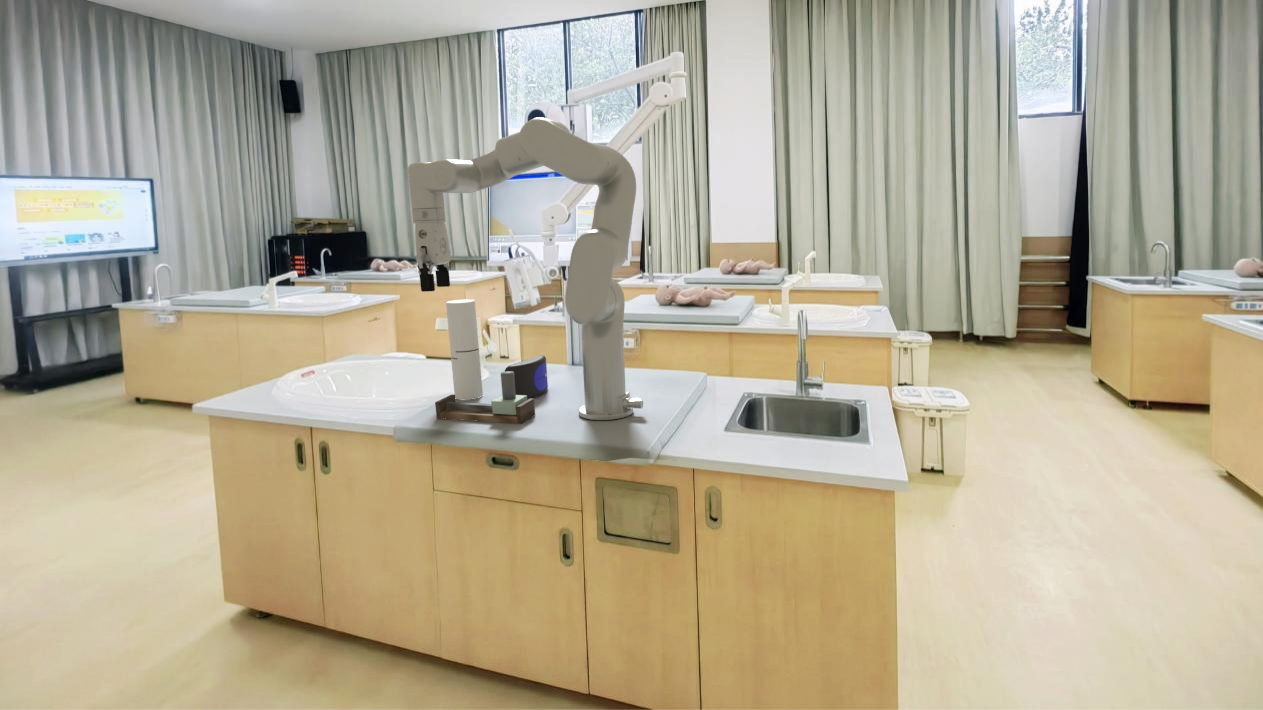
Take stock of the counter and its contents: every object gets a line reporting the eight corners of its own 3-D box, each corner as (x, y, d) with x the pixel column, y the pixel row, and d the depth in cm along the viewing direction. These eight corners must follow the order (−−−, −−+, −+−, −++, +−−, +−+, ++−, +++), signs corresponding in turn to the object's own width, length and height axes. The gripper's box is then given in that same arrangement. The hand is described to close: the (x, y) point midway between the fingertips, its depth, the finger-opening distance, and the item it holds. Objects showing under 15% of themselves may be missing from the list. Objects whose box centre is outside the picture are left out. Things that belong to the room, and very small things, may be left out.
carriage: (527, 407, 169) (525, 370, 168) (515, 415, 164) (513, 376, 162) (504, 406, 171) (501, 369, 169) (492, 413, 166) (489, 375, 164)
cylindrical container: (476, 400, 185) (467, 303, 180) (450, 400, 186) (441, 303, 181) (487, 393, 192) (479, 299, 187) (461, 393, 193) (453, 299, 188)
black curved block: (520, 405, 180) (517, 367, 178) (505, 403, 182) (502, 366, 180) (557, 389, 193) (555, 354, 192) (543, 388, 196) (540, 353, 194)
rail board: (535, 415, 170) (533, 398, 169) (521, 423, 163) (520, 406, 162) (452, 410, 177) (451, 394, 176) (436, 418, 170) (435, 402, 169)
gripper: (430, 216, 163) (437, 292, 166) (457, 215, 180) (463, 284, 183) (398, 218, 164) (406, 293, 167) (428, 216, 181) (434, 285, 184)
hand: (436, 288), depth 175 cm, fingers open, 9 cm apart
